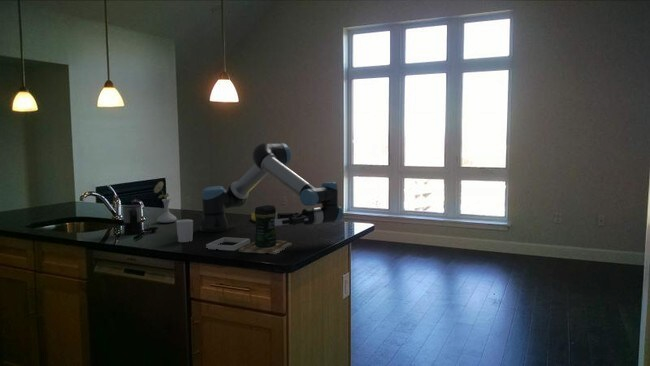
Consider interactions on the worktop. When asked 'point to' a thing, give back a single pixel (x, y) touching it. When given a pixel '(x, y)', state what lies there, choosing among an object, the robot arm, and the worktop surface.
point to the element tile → (253, 217)
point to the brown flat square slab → (271, 250)
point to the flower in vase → (166, 216)
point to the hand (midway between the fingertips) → (269, 220)
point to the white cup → (184, 230)
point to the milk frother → (134, 220)
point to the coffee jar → (265, 226)
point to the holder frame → (240, 244)
